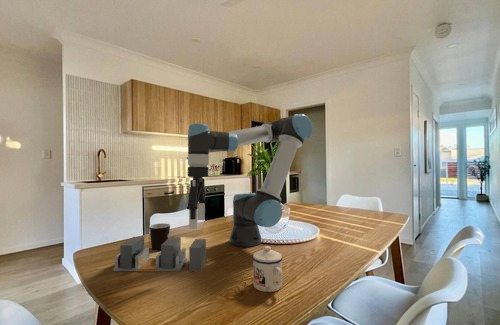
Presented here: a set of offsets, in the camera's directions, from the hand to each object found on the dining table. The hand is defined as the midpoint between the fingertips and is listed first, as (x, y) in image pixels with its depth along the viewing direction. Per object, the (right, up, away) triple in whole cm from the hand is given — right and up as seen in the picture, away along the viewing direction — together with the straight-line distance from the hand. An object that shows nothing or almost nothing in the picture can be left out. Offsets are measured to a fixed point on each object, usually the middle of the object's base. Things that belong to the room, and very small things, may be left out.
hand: (197, 224), depth 91 cm
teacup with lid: (+25, -15, -17) cm, 34 cm away
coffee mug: (-20, -15, +19) cm, 31 cm away
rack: (-16, -15, -1) cm, 22 cm away
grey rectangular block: (0, -15, 0) cm, 15 cm away
